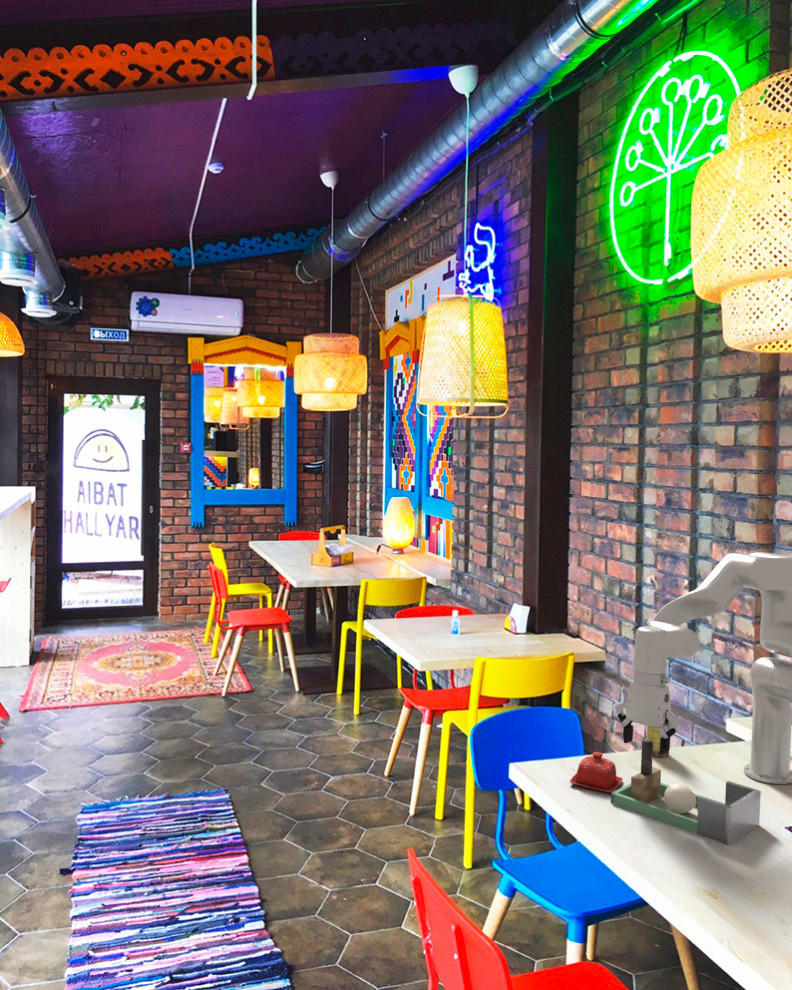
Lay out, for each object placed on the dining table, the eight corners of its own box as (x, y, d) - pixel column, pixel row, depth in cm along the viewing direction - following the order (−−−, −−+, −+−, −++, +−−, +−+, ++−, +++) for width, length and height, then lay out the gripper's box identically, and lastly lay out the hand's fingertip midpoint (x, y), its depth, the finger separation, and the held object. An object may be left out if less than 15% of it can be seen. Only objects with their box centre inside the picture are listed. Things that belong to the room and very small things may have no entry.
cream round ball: (693, 821, 192) (694, 793, 192) (660, 814, 196) (661, 786, 196) (698, 810, 198) (699, 783, 198) (667, 804, 202) (668, 777, 202)
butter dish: (624, 782, 216) (625, 750, 215) (612, 797, 206) (613, 763, 205) (581, 773, 221) (582, 741, 221) (567, 787, 211) (568, 754, 211)
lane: (642, 786, 212) (643, 777, 212) (726, 814, 197) (727, 804, 197) (610, 802, 202) (611, 792, 202) (697, 833, 186) (697, 823, 186)
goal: (726, 814, 197) (728, 781, 196) (759, 824, 191) (760, 790, 191) (697, 833, 186) (698, 798, 186) (730, 845, 181) (731, 809, 180)
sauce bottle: (670, 759, 232) (673, 689, 231) (647, 757, 233) (650, 687, 232) (668, 751, 238) (670, 683, 238) (645, 749, 240) (647, 681, 239)
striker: (650, 791, 208) (652, 735, 207) (660, 795, 206) (662, 738, 205) (630, 802, 201) (632, 744, 200) (639, 806, 199) (641, 747, 198)
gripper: (690, 683, 199) (686, 754, 199) (625, 668, 211) (622, 735, 212) (675, 688, 193) (671, 760, 194) (609, 673, 206) (606, 741, 206)
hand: (645, 747), depth 203 cm, fingers open, 9 cm apart
